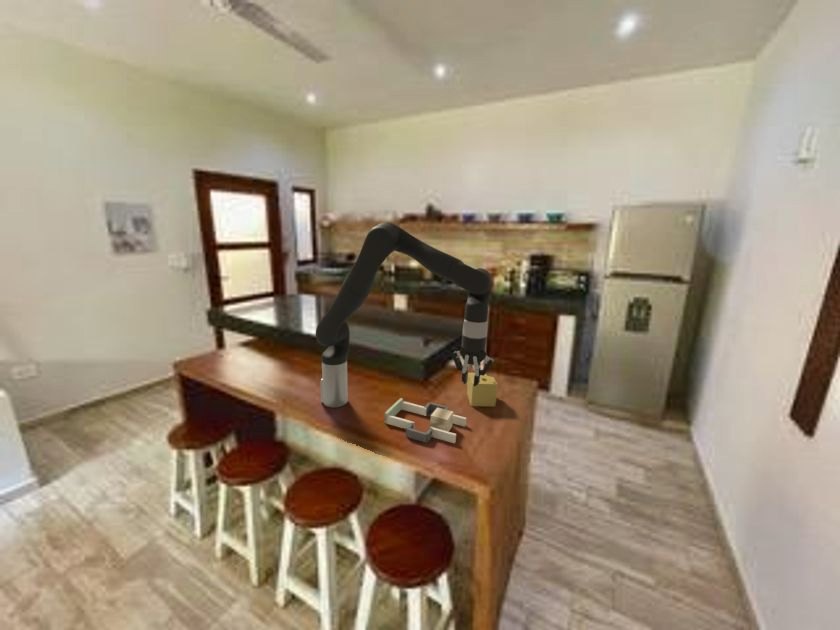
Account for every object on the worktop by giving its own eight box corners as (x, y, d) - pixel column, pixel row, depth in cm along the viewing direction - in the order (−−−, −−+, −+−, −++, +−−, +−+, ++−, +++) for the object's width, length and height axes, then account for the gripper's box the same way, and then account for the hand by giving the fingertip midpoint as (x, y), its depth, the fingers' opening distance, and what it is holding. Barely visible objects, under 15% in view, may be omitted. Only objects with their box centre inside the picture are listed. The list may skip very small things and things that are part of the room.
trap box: (378, 428, 125) (379, 418, 124) (404, 402, 143) (405, 393, 142) (450, 450, 116) (451, 439, 114) (469, 419, 133) (469, 409, 132)
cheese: (490, 394, 153) (492, 372, 150) (496, 407, 142) (498, 384, 140) (465, 394, 152) (467, 372, 150) (469, 407, 142) (471, 383, 139)
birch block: (429, 431, 126) (430, 415, 124) (436, 422, 131) (437, 407, 129) (446, 435, 123) (447, 419, 122) (452, 426, 129) (453, 411, 127)
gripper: (449, 333, 113) (446, 384, 118) (494, 340, 108) (488, 394, 112) (457, 326, 120) (453, 375, 124) (499, 333, 114) (494, 384, 119)
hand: (470, 383), depth 118 cm, fingers open, 3 cm apart
